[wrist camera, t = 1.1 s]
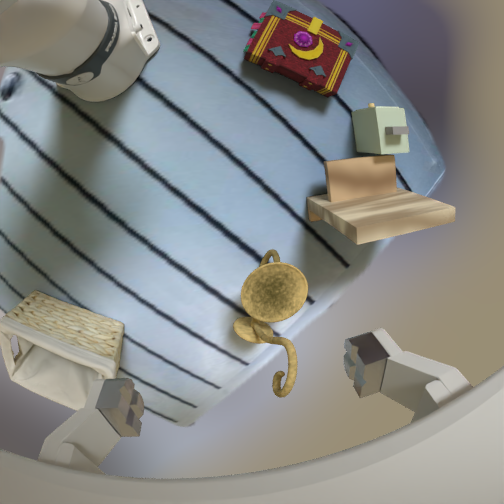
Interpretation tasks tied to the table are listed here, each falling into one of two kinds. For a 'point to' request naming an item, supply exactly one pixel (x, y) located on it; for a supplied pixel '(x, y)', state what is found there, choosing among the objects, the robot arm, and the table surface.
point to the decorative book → (300, 49)
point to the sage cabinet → (380, 130)
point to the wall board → (373, 201)
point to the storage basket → (60, 348)
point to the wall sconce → (272, 309)
